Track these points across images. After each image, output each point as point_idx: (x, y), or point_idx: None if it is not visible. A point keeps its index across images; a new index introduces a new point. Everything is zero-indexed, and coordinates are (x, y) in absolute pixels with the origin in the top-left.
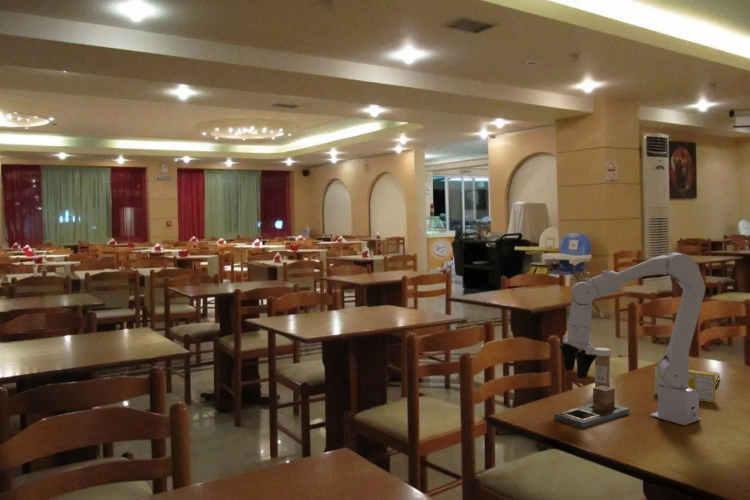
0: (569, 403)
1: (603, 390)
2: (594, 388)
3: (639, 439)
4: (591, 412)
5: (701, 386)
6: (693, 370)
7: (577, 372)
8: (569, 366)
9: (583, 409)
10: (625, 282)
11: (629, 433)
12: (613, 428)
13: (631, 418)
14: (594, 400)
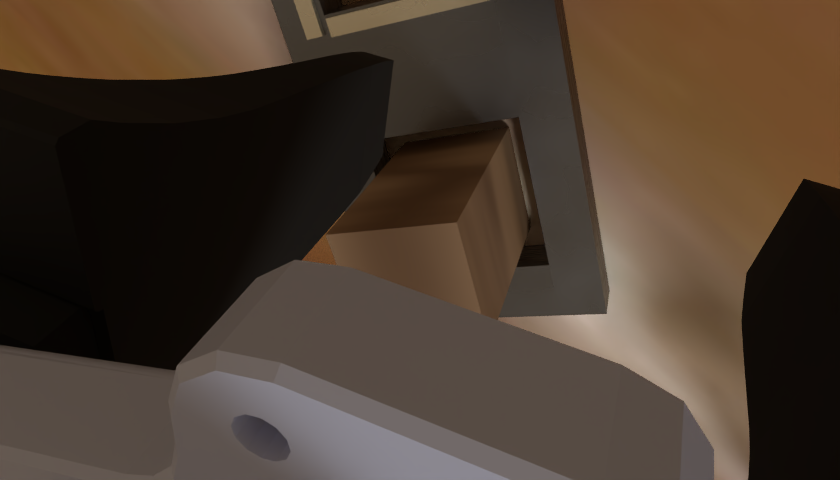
0: (815, 138)
1: (346, 233)
2: (439, 221)
3: (15, 10)
4: (380, 26)
5: None
6: None
7: (353, 67)
8: (783, 261)
9: (483, 30)
10: None
11: (103, 33)
12: (190, 8)
13: (326, 249)
14: (470, 171)
